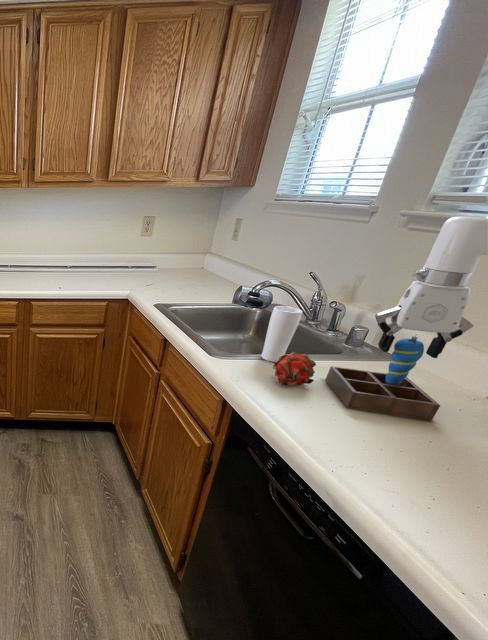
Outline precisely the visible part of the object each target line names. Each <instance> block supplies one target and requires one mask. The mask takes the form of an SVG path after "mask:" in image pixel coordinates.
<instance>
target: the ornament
mask: <svg viewBox="0 0 488 640" xmlns="http://www.w3.org/2000/svg"><path fill="white" fill-rule="evenodd" d="M393 349H394V350H393V351H392V352H391V355H390V359H391V361H390V362H389V364H388V372H387V373H386V374H387V375H386V384H389V385H396V386H399V385H400V384H401V382H402V381H403V380H404V379H405V378H406V377H407V378H408V376H409V374H410V371H411V370H412V369H414V368H415V367H416V365H417V362H419V360H420V359H422V357H423V355H424V351H425V345H424V343H423V342H422V341H421V340H418V336H417V333H416V334H415V336H412V337H411V338H401V339H399V340H397V341H396V342H394V346H393Z"/></svg>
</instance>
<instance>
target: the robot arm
mask: <svg viewBox="0 0 488 640" xmlns="http://www.w3.org/2000/svg"><path fill="white" fill-rule="evenodd" d="M431 248H432V249H431V250H430V253H429V255H428V257H427V259H426V261H425V263H424V265H423V267H421V269H419V270H414V271H413V272H412V274H411V276H412V278H416V280H414V281H412V283H411V284H410V285H409V286H408V288H407V289H406V290H405V292H404V293H403V295H402V296H401V298H400V299H399V301H398V303H397V304H396V306H395V307H394V308H390V309H388V310H387V309H386V310H384V311H382V312H378V313H376V314H375V315H374V317H375V320H376V322H377V326H378V327H379V329H380V330H381V332H382V335H381V337H380V339H379V342H378V349H379V350H380V351H381V352H383V353H389V351H390V349H391V347H392V345H393V343H394V342H395V341H394V340H395V338H396V337H395V334H396V333H398V332H399V331H401V330H403V329H404V330H410V331H417V332H418V331H419V332H428V333H436V336H437V337H436V336H434V337H433V338H432V340H431V342H430V344H429V346H428V347H427V350H426V351H425V354H427V355H428V356H429V357H431V358H432V359H437V358H438V357H439V355H441V354H442V352H443V350H444V348H445V347H446V345H447V343H450V342H452V340H454V339H457V338H459V337H461V336H462V335H463V334H464V333H466V332H467V331H469V330H471V329H472V328H473V327H474V324H473V323H472V322H471V321H469V320H468V319H467V318H465V317H464V313H465V311H466V309H467V306H468V302H469V299H470V294H471V287H469V286H468V284H469V282H470V279H471V278H472V277H473V274H474V272H475V270H476V268H477V266H478V265H479V262H480V261H481V259H482V257H483V256H488V215H487V216H485V217H483V216H481V217H480V216H464V215H462V216H452V217H450V218H448V219H447V220H446V221H444V223H443V225H442V227H441V229H440V231H439V233H438V235H437V238H436V239H435V242H434V244H433V246H432V247H431ZM388 318H390V322H389V323H387V319H388Z"/></svg>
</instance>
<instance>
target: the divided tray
mask: <svg viewBox="0 0 488 640" xmlns="http://www.w3.org/2000/svg"><path fill="white" fill-rule="evenodd" d="M386 375H387V373H385V372H379V371H370V370H364V369H363V370H362V369H355V368H348V367H341V366H335V365H331V366H330V368H329V370H328V372H327V374H326V377H325V379H324V381H325V382H326V383H327V385H328V386H329V387H330V389H331V390H332V391H333V392H334V394H335V395H336V396H337V398H338V399H339V400H340V402H342V404H343V405H344V407H345V408H347V409H351V410H357V411H364V412H369V413H370V412H371V413H376V414H382V415H389V416H395V417H402V418H406V419H407V418H408V419H414V420H420V421H425V422H432V421H433V419H434V418H435V416H436V414H437V413H438V411H439V409H440V407H441V404H440V403H438V402H437V401H436V400H435V399H434V398H432V397H431V396H430V395H429V394H427V393H426V392H425V391H424V390H423V389H422V388H420V386H418V385H417V384H416V383H414V382H413V381H412V380H411V379H410V378H408V376H407V377H406V378H405V379H404V380H403V381H402V382H401V384H400V385H399V386H396V385H389V384H386Z"/></svg>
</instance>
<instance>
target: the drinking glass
mask: <svg viewBox="0 0 488 640" xmlns="http://www.w3.org/2000/svg"><path fill="white" fill-rule="evenodd" d="M302 315H303V310H302V309H300V308H297V307H293V306H287V305H276V306H274V307H273V310H272V312H271V315H270V317H269V321H268V325H267V330H266V335H265V340H264V343H263V348H262V352H261V353H260V354H261V355H260V356H261V358H262V359H263V360H265V361H267V362H270V363H276V362H277V361H278V360H279V357H281V356H283V355H286V352H287V350H288V349H289V346H290V344H291V342H292V340H293V338H294V335H295V334H296V331H297V329H298V327H299V325H300V322H301V319H302Z"/></svg>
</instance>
